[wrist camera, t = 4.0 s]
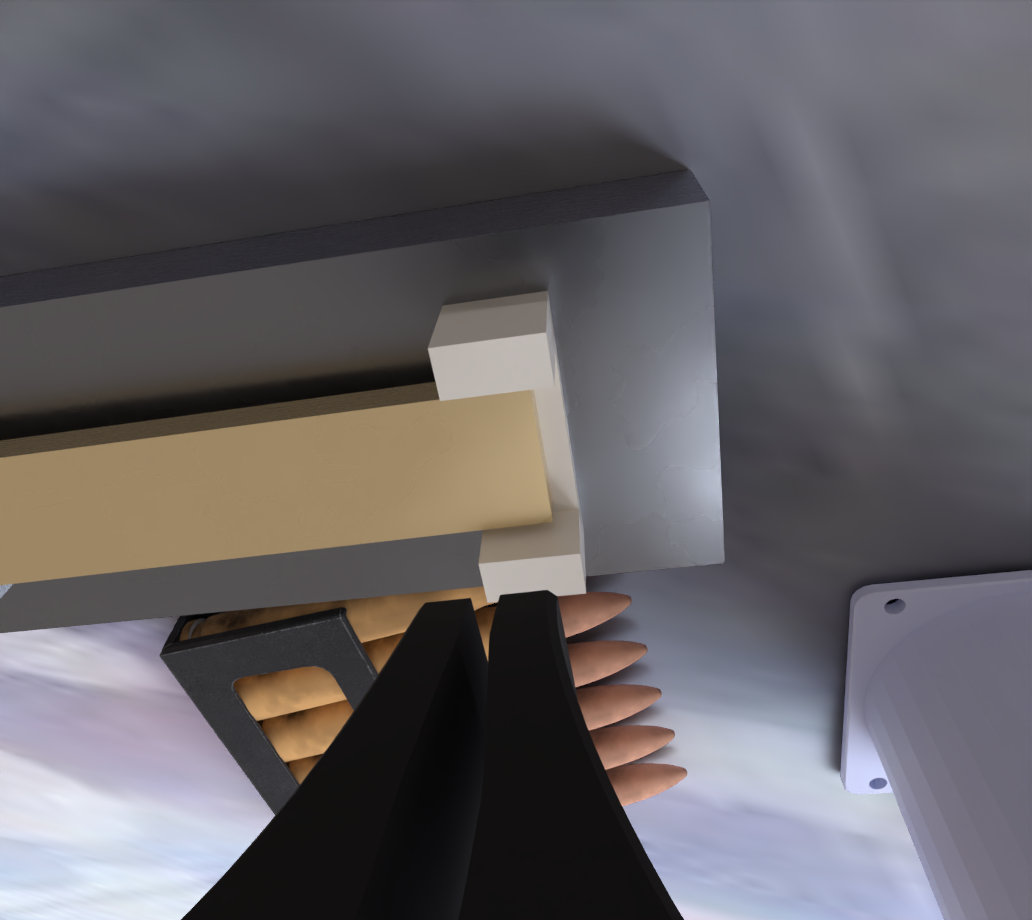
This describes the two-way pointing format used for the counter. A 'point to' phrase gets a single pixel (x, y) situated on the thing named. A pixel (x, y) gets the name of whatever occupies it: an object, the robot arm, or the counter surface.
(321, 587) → the block
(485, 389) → the lug
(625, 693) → the ammunition clip
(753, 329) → the counter surface
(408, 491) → the tan long flat bar
